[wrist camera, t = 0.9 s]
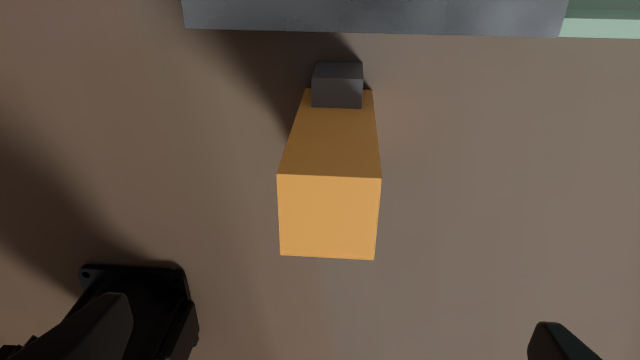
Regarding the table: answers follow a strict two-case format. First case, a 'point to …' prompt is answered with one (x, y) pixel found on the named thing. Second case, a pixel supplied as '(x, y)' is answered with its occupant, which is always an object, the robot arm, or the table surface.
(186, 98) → the table surface
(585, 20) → the tray
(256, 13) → the channel
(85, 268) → the robot arm
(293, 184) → the orange bar
